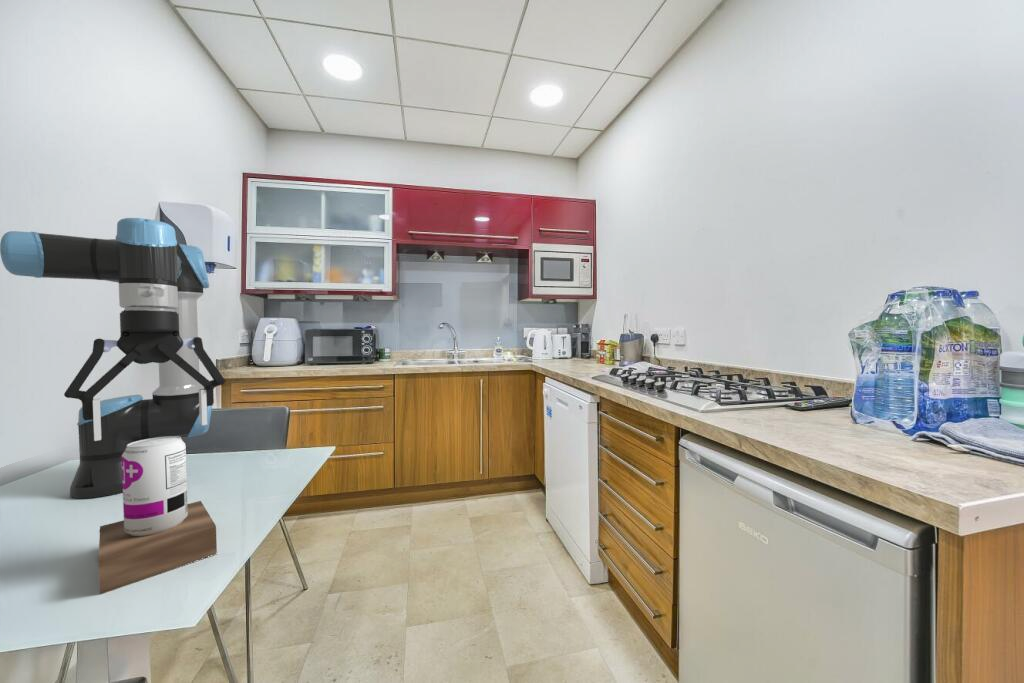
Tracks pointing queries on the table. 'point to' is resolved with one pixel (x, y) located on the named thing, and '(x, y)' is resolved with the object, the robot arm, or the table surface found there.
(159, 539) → the walnut base
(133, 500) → the supplement can
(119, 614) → the table surface
